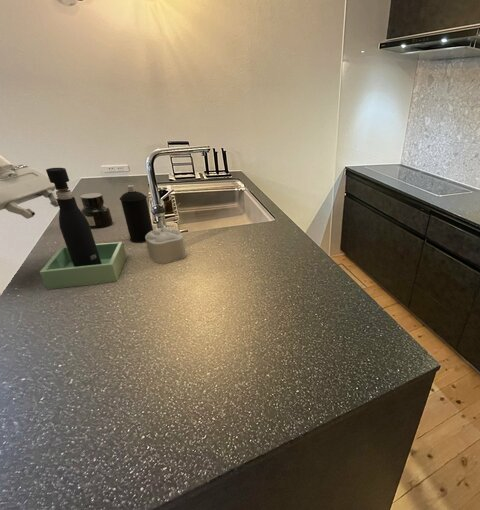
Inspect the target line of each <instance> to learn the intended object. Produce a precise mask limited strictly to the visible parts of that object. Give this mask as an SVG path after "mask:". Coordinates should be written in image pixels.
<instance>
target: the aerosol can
mask: <svg viewBox="0 0 480 510" xmlns="http://www.w3.org/2000/svg"><path fill="white" fill-rule="evenodd" d="M135 188H136V187H135V185H133V184H129V185H127V190H128V191H127V192H124V193H123V194H122V195H121V196H120V197H119V201H120V203H121V207H122V211H123V214H124V219H125V223H126V227H127V230H128V235H129V241H130V242H131V243H132V242H133V243H138V242H139V243H146V239H145V236H146V235H147V234H148V233H149V232H151V231H153V230H154V228H153V223H152V218H151V214H150V209H149V205H148V199H147V198H148V196H147V194H146V195H145V194H144V193H142V192H140V191H136V189H135Z"/></svg>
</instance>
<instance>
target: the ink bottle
mask: <svg viewBox="0 0 480 510" xmlns="http://www.w3.org/2000/svg"><path fill="white" fill-rule="evenodd" d="M79 199H80V202H81V204H82V206H83V208H81V209H80V210H81V212H82V213H83V214H84V216H85V217H86V219H87V221H88V222H89V225H90V228H91V229H101V228H105V227H108V226H109V227H110V226H111V225H112V224H113V223H114V221H113V217H112V214H111V211H110V208H109V206H107V205H106V204H105V200H104V197H103V194H102V193H99V192H98V193H97V192H92V193H91V192H90V193H85V194H84V193H83V194H81V195H80V196H79Z"/></svg>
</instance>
